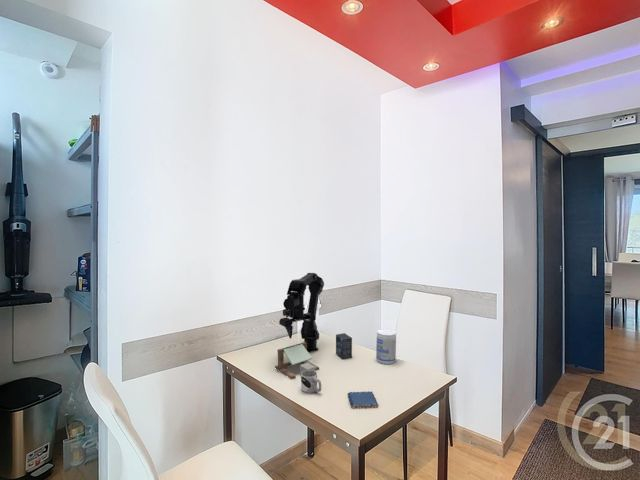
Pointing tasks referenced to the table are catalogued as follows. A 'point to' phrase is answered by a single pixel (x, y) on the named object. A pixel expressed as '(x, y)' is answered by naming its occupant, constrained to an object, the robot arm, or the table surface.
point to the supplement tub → (386, 346)
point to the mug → (310, 382)
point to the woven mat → (362, 400)
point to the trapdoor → (297, 354)
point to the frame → (282, 365)
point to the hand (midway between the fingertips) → (298, 336)
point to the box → (344, 346)
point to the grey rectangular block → (307, 367)
